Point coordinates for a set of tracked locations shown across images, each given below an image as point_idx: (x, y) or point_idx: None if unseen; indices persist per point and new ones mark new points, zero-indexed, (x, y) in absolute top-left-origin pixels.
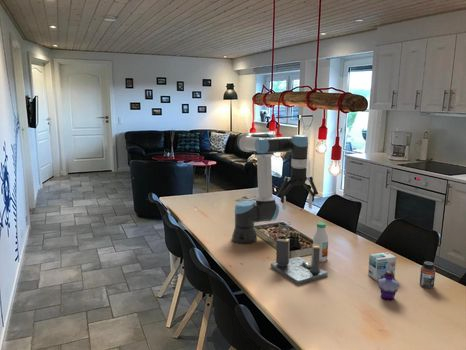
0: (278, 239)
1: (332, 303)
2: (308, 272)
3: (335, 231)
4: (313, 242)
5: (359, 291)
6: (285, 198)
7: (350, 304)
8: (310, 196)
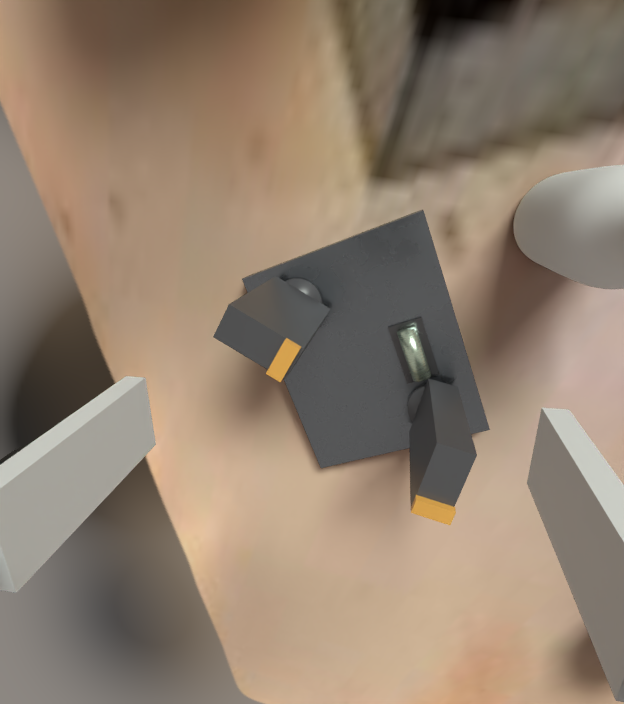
0: (229, 321)
1: (398, 590)
2: (395, 409)
3: None
4: (545, 219)
5: (548, 558)
6: (31, 571)
7: (457, 612)
8: (617, 661)
